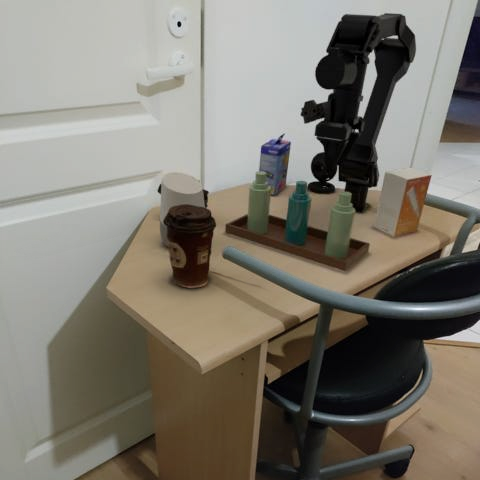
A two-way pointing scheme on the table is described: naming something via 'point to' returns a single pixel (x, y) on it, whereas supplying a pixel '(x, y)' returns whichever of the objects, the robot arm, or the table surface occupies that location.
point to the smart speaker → (178, 195)
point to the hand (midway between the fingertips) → (334, 169)
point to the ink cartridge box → (275, 163)
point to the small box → (402, 200)
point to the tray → (309, 250)
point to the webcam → (321, 175)
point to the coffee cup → (189, 243)
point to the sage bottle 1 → (259, 204)
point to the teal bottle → (298, 215)
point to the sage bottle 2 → (340, 227)
